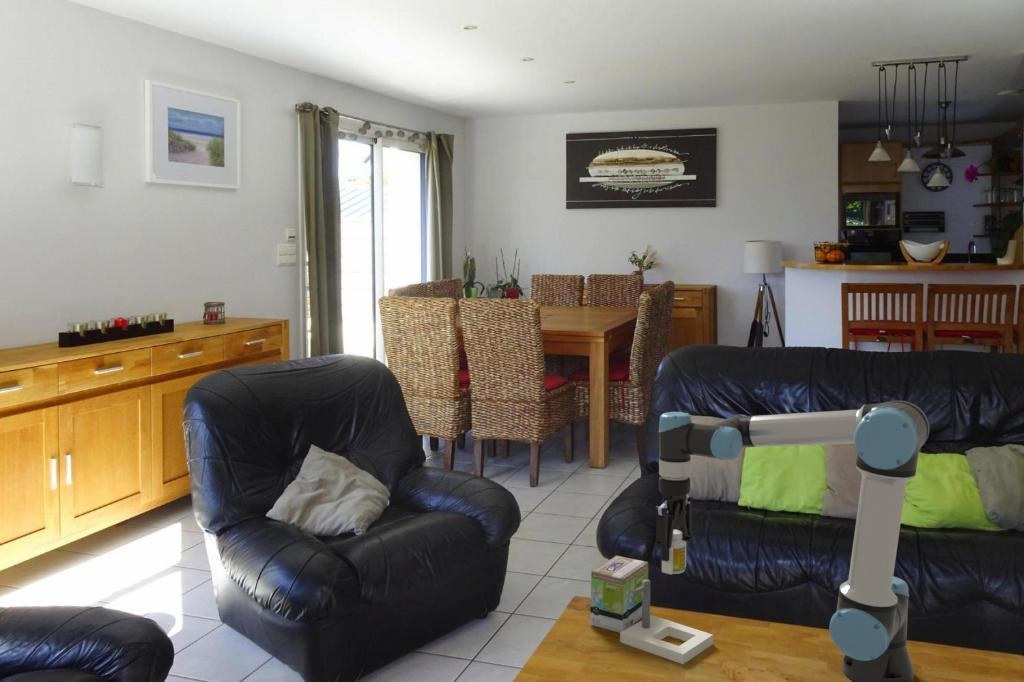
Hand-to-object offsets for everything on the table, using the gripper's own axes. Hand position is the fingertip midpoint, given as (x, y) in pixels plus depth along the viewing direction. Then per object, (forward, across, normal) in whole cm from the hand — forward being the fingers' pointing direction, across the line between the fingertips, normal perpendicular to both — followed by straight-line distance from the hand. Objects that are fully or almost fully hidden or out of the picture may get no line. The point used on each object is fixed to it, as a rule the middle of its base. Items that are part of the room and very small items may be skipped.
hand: (674, 569), depth 215 cm
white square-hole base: (+20, 0, -2) cm, 20 cm away
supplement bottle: (+1, 0, 0) cm, 1 cm away
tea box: (+20, -4, -19) cm, 28 cm away
